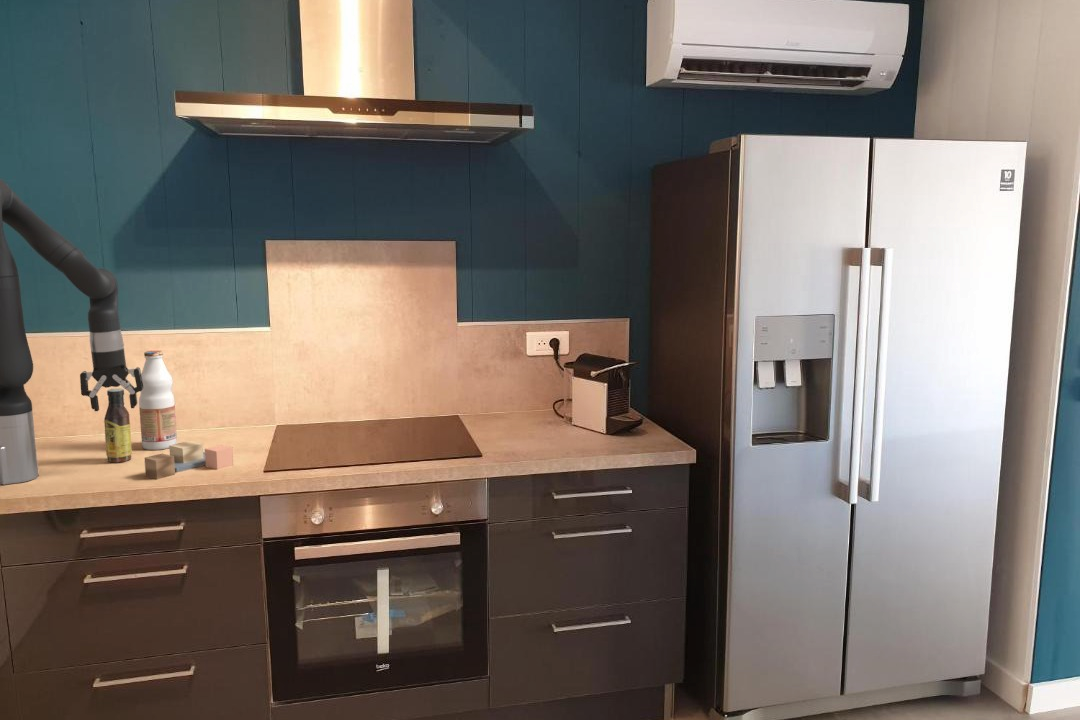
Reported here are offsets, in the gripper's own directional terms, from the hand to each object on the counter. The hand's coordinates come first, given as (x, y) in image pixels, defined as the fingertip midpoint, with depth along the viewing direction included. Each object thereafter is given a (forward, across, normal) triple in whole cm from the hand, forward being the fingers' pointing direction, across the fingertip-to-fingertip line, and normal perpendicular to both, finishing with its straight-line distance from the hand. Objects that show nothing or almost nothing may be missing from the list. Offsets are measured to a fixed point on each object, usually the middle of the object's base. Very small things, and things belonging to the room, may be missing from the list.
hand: (115, 409), depth 216 cm
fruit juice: (+18, +6, +23) cm, 30 cm away
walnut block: (+16, +10, -9) cm, 21 cm away
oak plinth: (+17, +15, +2) cm, 23 cm away
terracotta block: (+17, +24, -3) cm, 30 cm away
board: (+17, +15, +2) cm, 23 cm away
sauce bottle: (+17, -2, +10) cm, 20 cm away
